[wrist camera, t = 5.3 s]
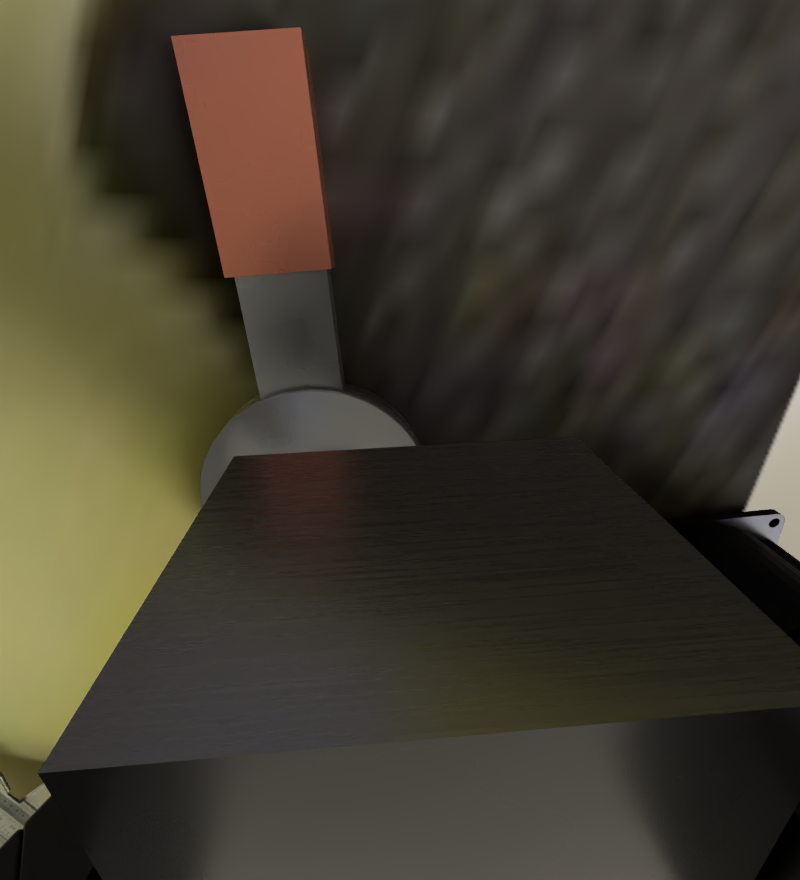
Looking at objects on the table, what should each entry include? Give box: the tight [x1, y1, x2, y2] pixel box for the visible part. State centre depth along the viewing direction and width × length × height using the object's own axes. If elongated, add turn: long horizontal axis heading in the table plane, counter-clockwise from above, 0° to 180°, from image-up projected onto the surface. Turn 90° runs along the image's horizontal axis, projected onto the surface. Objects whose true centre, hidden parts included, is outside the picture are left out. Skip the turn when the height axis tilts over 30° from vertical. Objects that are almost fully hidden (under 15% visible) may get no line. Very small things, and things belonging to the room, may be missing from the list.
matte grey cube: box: [38, 437, 800, 880], centre depth 7 cm, size 6×6×5 cm
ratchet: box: [171, 27, 420, 507], centre depth 15 cm, size 19×9×5 cm, turn 4°
